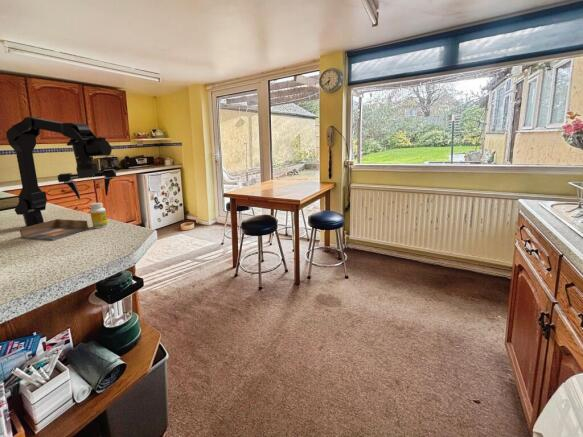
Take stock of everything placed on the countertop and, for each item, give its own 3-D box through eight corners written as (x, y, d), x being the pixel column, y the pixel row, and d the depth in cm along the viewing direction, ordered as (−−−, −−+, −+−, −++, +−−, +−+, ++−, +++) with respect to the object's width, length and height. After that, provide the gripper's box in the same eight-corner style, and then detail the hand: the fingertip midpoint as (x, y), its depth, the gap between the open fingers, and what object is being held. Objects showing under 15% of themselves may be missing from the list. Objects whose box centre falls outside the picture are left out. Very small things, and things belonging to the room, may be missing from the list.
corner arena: (21, 238, 114) (19, 229, 113) (58, 227, 127) (56, 219, 126) (53, 240, 109) (50, 231, 108) (88, 229, 122) (86, 220, 121)
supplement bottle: (96, 225, 127) (91, 202, 125) (110, 224, 128) (106, 201, 126) (91, 229, 122) (86, 205, 120) (105, 227, 123) (101, 204, 121)
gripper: (49, 160, 106) (61, 204, 110) (110, 155, 114) (119, 196, 118) (56, 159, 116) (66, 199, 120) (112, 155, 124) (120, 193, 128)
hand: (93, 197), depth 121 cm, fingers open, 9 cm apart
